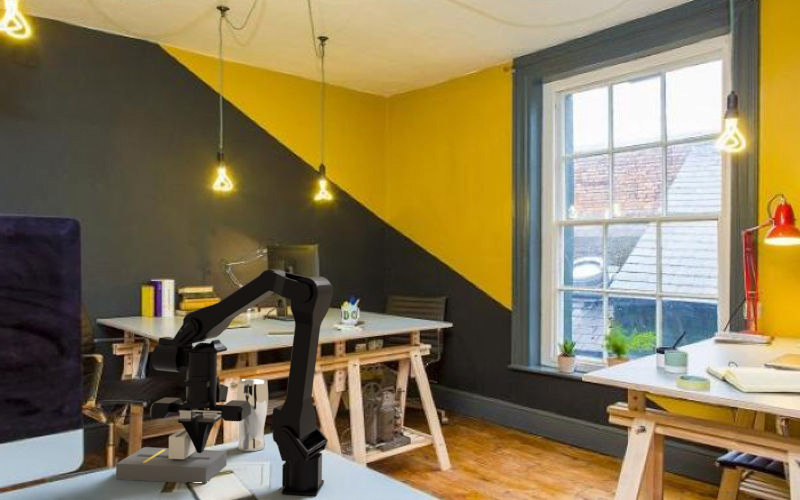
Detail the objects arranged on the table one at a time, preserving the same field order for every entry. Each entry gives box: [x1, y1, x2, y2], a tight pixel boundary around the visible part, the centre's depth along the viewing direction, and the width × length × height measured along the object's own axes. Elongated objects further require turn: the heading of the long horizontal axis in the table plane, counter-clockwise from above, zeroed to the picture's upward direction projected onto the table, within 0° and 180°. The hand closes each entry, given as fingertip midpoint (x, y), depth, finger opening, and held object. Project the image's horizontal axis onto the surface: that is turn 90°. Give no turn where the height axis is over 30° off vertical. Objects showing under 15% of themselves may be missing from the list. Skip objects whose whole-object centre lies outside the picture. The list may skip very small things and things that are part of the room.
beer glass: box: [236, 378, 269, 453], centre depth 132 cm, size 7×7×15 cm
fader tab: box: [168, 429, 196, 459], centre depth 116 cm, size 3×5×4 cm, turn 174°
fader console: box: [115, 446, 228, 484], centre depth 116 cm, size 18×10×3 cm, turn 84°
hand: (200, 452), depth 116 cm, fingers closed
